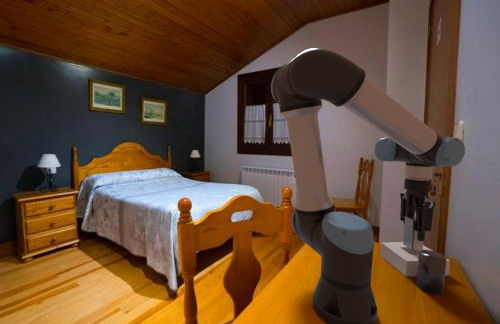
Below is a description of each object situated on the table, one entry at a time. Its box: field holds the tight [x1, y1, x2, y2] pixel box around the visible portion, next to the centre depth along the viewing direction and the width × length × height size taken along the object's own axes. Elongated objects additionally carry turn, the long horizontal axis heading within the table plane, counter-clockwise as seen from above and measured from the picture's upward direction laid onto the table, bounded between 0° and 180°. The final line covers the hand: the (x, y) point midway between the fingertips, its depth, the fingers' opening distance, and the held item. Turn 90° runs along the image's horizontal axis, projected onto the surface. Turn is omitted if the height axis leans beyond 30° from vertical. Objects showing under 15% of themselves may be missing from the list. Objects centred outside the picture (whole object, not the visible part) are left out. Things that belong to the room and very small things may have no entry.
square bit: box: [402, 215, 417, 250], centre depth 83 cm, size 4×4×10 cm
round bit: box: [415, 249, 448, 296], centre depth 71 cm, size 6×6×10 cm
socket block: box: [379, 241, 451, 277], centre depth 84 cm, size 14×14×5 cm
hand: (412, 246), depth 84 cm, fingers closed on square bit, 4 cm apart
